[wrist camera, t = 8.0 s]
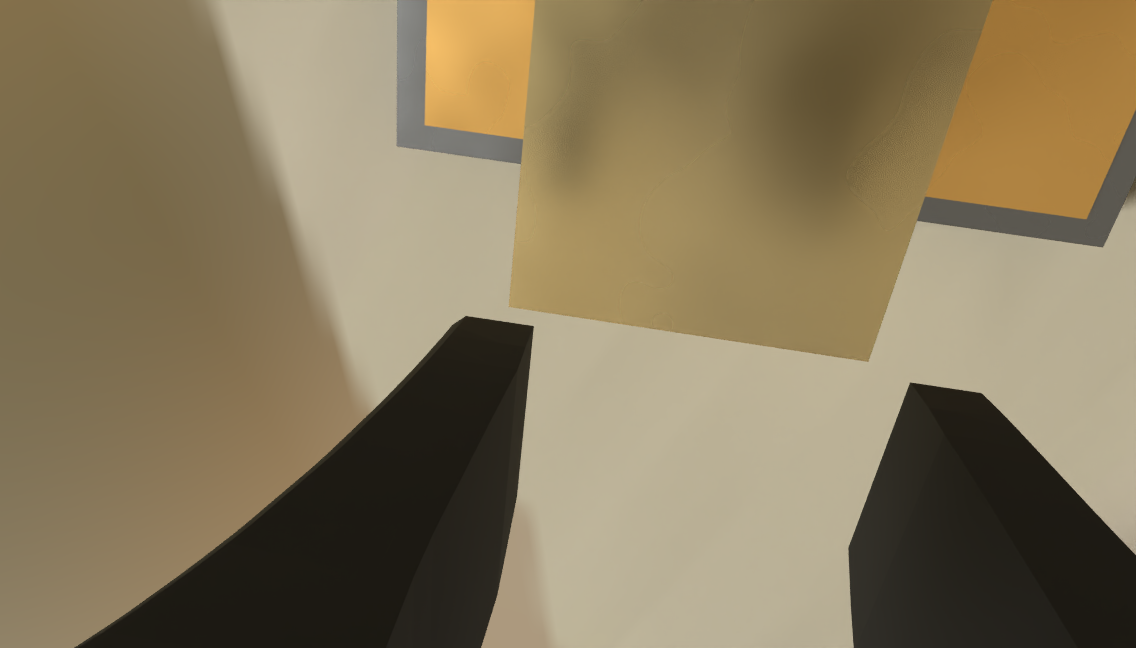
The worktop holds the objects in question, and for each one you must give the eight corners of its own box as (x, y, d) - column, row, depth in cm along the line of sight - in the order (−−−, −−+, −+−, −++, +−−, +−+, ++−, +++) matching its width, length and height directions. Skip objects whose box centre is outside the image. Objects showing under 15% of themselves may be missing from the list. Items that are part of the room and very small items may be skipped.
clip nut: (826, 186, 16) (867, 362, 12) (557, 146, 16) (508, 307, 12) (918, -143, 14) (1013, -60, 9) (593, -186, 14) (545, -124, 10)
